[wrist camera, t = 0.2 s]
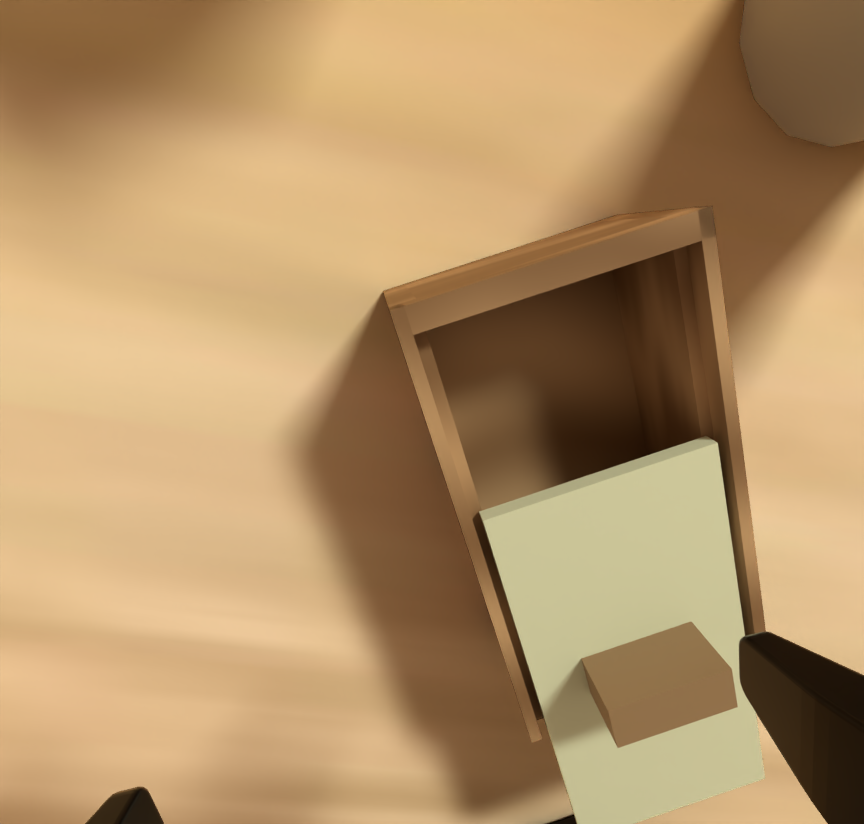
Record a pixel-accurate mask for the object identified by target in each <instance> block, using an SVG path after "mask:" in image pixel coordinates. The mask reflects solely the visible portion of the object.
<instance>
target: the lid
mask: <svg viewBox="0 0 864 824" xmlns="http://www.w3.org/2000/svg"><path fill="white" fill-rule="evenodd" d="M479 513H480V516H481V519H482V523H483V526H484V529H485V532H486V535H487V538H488V542H489V545H490V548H491V551H492V554H493V558H494V561H495V564H496V567H497V570H498V574H499V577H500V580H501V583H502V586H503V590H504V593H505V596H506V599H507V602H508V605H509V609H510V612H511V615H512V618H513V621H514V625H515V628H516V631H517V634H518V637H519V641H520V644H521V647H522V650H523V653H524V657H525V660H526V663H527V666H528V669H529V672H530V676H531V679H532V682H533V685H534V688H535V692H536V695H537V698H538V701H539V704H540V708H541V711H542V714H543V717H544V720H545V724H546V727H547V730H548V733H549V736H550V739H551V743H552V746H553V749H554V752H555V755H556V759H557V762H558V765H559V768H560V771H561V775H562V778H563V781H564V784H565V787H566V791H567V794H568V797H569V800H570V803H571V807H572V810H573V813H574V816H575V819H576V822H577V824H635V823H638V822H641V821H644V820H647V819H650V818H652V817H655V816H658V815H661V814H664V813H667V812H670V811H673V810H676V809H679V808H681V807H684V806H687V805H690V804H693V803H696V802H699V801H702V800H705V799H708V798H710V797H713V796H716V795H719V794H722V793H725V792H728V791H731V790H734V789H737V788H739V787H742V786H745V785H748V784H751V783H754V782H757V781H760V780H763V779H765V773H764V766H763V759H762V752H761V745H760V738H759V731H758V724H757V717H756V712H755V710H754V709H753V707H752V706H751V704H750V702H749V701H748V699H747V697H746V696H745V694H744V692H743V689H742V687H741V683H740V678H739V641H740V639H741V638H742V637H744V636H745V632H744V625H743V618H742V611H741V604H740V597H739V590H738V583H737V576H736V569H735V562H734V554H733V547H732V540H731V533H730V526H729V519H728V512H727V505H726V498H725V491H724V484H723V477H722V470H721V463H720V456H719V449H718V443H717V442H716V441H714V440H712V439H711V438H709V437H707V436H704V437H701V438H698V439H695V440H692V441H689V442H686V443H683V444H680V445H677V446H674V447H671V448H668V449H665V450H662V451H659V452H656V453H653V454H650V455H647V456H644V457H641V458H638V459H635V460H632V461H629V462H626V463H623V464H620V465H617V466H614V467H611V468H608V469H605V470H602V471H599V472H596V473H593V474H590V475H587V476H584V477H581V478H578V479H575V480H572V481H569V482H566V483H563V484H560V485H557V486H554V487H551V488H548V489H545V490H542V491H539V492H536V493H533V494H530V495H527V496H524V497H521V498H518V499H515V500H512V501H509V502H506V503H503V504H500V505H497V506H494V507H491V508H488V509H485V510H482V511H479Z"/></svg>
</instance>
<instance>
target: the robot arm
mask: <svg viewBox="0 0 864 824" xmlns="http://www.w3.org/2000/svg"><path fill="white" fill-rule="evenodd" d="M739 678H740V683H741V687H742V689H743V692H744V694H745V696H746V697H747V699H748V701H749V702H750V704H751V706H752V707H753V709H754V710H755V712H756V714H757V715H758V717H759V718H760V720H761V722H762V723H763V725H764V726H765V728H766V730H767V731H768V733H769V734H770V736H771V738H772V739H773V741H774V742H775V744H776V746H777V747H778V749H779V750H780V752H781V754H782V755H783V757H784V758H785V760H786V762H787V763H788V765H789V767H790V768H791V770H792V771H793V773H794V775H795V776H796V778H797V779H798V781H799V783H800V784H801V786H802V787H803V789H804V790H805V792H806V793H807V795H808V796H809V798H810V799H811V801H812V802H813V804H814V805H815V807H816V808H817V809H818V811H819V812H820V813H821V815H822V816H823V818H824V819H825V820H826V822H827V823H828V824H864V675H862V674H860V673H858V672H856V671H853V670H851V669H849V668H847V667H845V666H843V665H840V664H838V663H836V662H834V661H832V660H830V659H827V658H825V657H823V656H821V655H819V654H816V653H814V652H812V651H810V650H808V649H806V648H803V647H801V646H799V645H797V644H795V643H793V642H790V641H788V640H786V639H784V638H782V637H780V636H777V635H775V634H773V633H770V632H759V633H755V634H751V635H747V636H744V637H742V638H741V639H740V641H739ZM86 824H164V822H163V820H162V818H161V816H160V814H159V812H158V810H157V808H156V806H155V804H154V802H153V799H152V797H151V795H150V793H149V791H148V790H147V789H146V788H144V787H136V788H132V789H128V790H124V791H120V792H117V793H115V794H113V795H112V796H111V797H109V798H108V799H107V800H106V802H105V803H104V804H103V805H102V806H101V807H100V808H99V809H98V810H97V811H96V813H95V814H94V815H93V816H92V817H91V818H90V819H89V820H88V821H87V822H86ZM553 824H577V822H576V819H575V816H573V817H570V818H567V819H564V820H561V821H558V822H556V823H553Z"/></svg>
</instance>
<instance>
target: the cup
mask: <svg viewBox="0 0 864 824" xmlns="http://www.w3.org/2000/svg"><path fill="white" fill-rule="evenodd" d="M739 44H740V48H741V52H742V56H743V59H744V63H745V67H746V71H747V74H748V78H749V82H750V86H751V90H752V93H753V97H754V100H755V101H756V102H757V103H758V104H759V105H760V106H761V107H762V108H763V109H764V111H765V112H766V113H767V114H768V115H769V116H770V117H771V118H772V119H773V120H774V122H775V123H776V124H777V125H778V126H779V127H780V128H781V129H782V130H783V131H784V133H785V134H786V135H788V136H792V137H796V138H799V139H803V140H807V141H810V142H814V143H817V144H821V145H825V146H828V147H834V146H840V145H845V144H850V143H855V142H860V141H864V0H745V1H744V9H743V18H742V26H741V34H740V42H739Z"/></svg>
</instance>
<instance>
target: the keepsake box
mask: <svg viewBox="0 0 864 824" xmlns="http://www.w3.org/2000/svg"><path fill="white" fill-rule="evenodd" d="M383 293H384V296H385V299H386V302H387V305H388V308H389V311H390V314H391V317H392V320H393V323H394V326H395V329H396V332H397V335H398V338H399V341H400V344H401V347H402V350H403V353H404V356H405V359H406V363H407V366H408V369H409V372H410V375H411V378H412V381H413V384H414V387H415V390H416V393H417V396H418V399H419V402H420V405H421V408H422V411H423V414H424V417H425V420H426V423H427V426H428V429H429V432H430V435H431V438H432V441H433V444H434V447H435V451H436V454H437V457H438V460H439V463H440V466H441V469H442V472H443V475H444V478H445V481H446V484H447V487H448V490H449V493H450V496H451V499H452V502H453V505H454V508H455V511H456V514H457V517H458V520H459V523H460V526H461V529H462V532H463V535H464V539H465V542H466V545H467V548H468V551H469V554H470V557H471V560H472V563H473V566H474V569H475V572H476V575H477V578H478V581H479V584H480V587H481V590H482V593H483V596H484V599H485V602H486V605H487V608H488V611H489V614H490V617H491V620H492V623H493V626H494V630H495V633H496V636H497V639H498V642H499V645H500V648H501V651H502V654H503V657H504V660H505V663H506V666H507V669H508V672H509V675H510V678H511V681H512V684H513V687H514V690H515V693H516V696H517V699H518V702H519V705H520V708H521V711H522V714H523V717H524V720H525V723H526V726H527V729H528V733H529V736H530V739H531V742H532V743H533V742H536V741H539V740H541V739H542V736H541V733H540V730H539V727H538V723H537V720H539V719H542V718H544V717H543V714H542V711H541V708H540V704H539V701H538V698H537V695H536V692H535V688H534V685H533V682H532V679H531V676H530V672H529V669H528V666H527V663H526V660H525V657H524V653H523V650H522V647H521V644H520V641H519V637H518V634H517V631H516V628H515V625H514V621H513V618H512V615H511V612H510V609H509V605H508V602H507V599H506V596H505V593H504V590H503V586H502V583H501V580H500V577H499V574H498V570H497V567H496V564H495V561H494V558H493V554H492V551H491V548H490V545H489V542H488V538H487V535H486V532H485V529H484V526H483V523H482V519H481V516H480V513H479V511H482V510H485V509H488V508H491V507H494V506H497V505H500V504H503V503H506V502H509V501H512V500H515V499H518V498H521V497H524V496H527V495H530V494H533V493H536V492H539V491H542V490H545V489H548V488H551V487H554V486H557V485H560V484H563V483H566V482H569V481H572V480H575V479H578V478H581V477H584V476H587V475H590V474H593V473H596V472H599V471H602V470H605V469H608V468H611V467H614V466H617V465H620V464H623V463H626V462H629V461H632V460H635V459H638V458H641V457H644V456H647V455H650V454H653V453H656V452H659V451H662V450H665V449H668V448H671V447H674V446H677V445H680V444H683V443H686V442H689V441H692V440H695V439H698V438H701V437H704V436H707V437H709V438H711V439H712V440H714V441H716V442H717V443H718V449H719V456H720V463H721V470H722V477H723V484H724V491H725V498H726V505H727V512H728V519H729V526H730V533H731V540H732V547H733V554H734V562H735V569H736V576H737V583H738V590H739V597H740V604H741V611H742V618H743V625H744V632H745V636H747V635H751V634H755V633H759V632H766V630H765V622H764V614H763V606H762V598H761V590H760V582H759V574H758V566H757V558H756V550H755V542H754V534H753V526H752V518H751V510H750V503H749V495H748V487H747V479H746V471H745V463H744V455H743V447H742V439H741V431H740V423H739V415H738V407H737V399H736V391H735V383H734V375H733V367H732V359H731V351H730V343H729V335H728V327H727V319H726V311H725V304H724V296H723V288H722V280H721V272H720V264H719V256H718V248H717V240H716V232H715V224H714V216H713V208H712V206H705V207H694V208H684V209H673V210H663V211H653V212H642V213H632V214H621V215H615V216H612V217H609V218H606V219H603V220H600V221H597V222H594V223H591V224H588V225H585V226H581V227H578V228H575V229H572V230H569V231H566V232H563V233H560V234H557V235H554V236H551V237H548V238H545V239H542V240H538V241H535V242H532V243H529V244H526V245H523V246H520V247H517V248H514V249H511V250H508V251H505V252H502V253H499V254H495V255H492V256H489V257H486V258H483V259H480V260H477V261H474V262H471V263H468V264H465V265H462V266H459V267H456V268H452V269H449V270H446V271H443V272H440V273H437V274H434V275H431V276H428V277H425V278H422V279H419V280H416V281H412V282H409V283H406V284H403V285H400V286H397V287H394V288H391V289H388V290H385V291H383Z"/></svg>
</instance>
